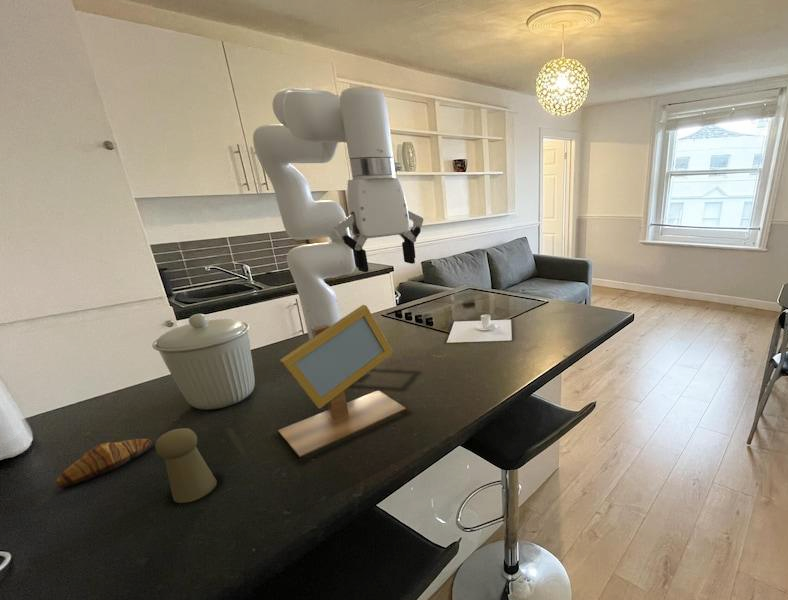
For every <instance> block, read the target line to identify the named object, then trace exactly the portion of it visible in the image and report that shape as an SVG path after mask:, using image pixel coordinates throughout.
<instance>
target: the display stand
mask: <svg viewBox="0 0 788 600" xmlns="http://www.w3.org/2000/svg"><path fill="white" fill-rule="evenodd" d="M329 327H330V326H329V325H327V324H325V325H321V326H317V327H314V328H311V331H312V335H313V338H314V337H315V336H317V335H318V334H320V333H321V332H323V331H324V330H326V329H327V328H329ZM327 406H328V410H325V411H323V412H320V413H318V414H315V415H312V416H309V417H308V418H305V419H302V420H300V421H297V422H294V423H292V424H290V425H287V426H285V427H282V428H280V429H278V430H277V432H278V434H279V435H280V436H281V437H282V438H283V439H284V441H285V442H286V443H287V445H289V446H290V448H291V449H292V450H293V451H294V452H295V454H296V455H297V456H298V458H302V457H305V456H307V455H308V454H311V453H313V452H315V451H318V450H319V449H323V448H324V447H327V446H329V445H331V444H333V443H335V442H338V441H340V440H342V439H344V438H347V437H349V436H351V435H353V434H356V433H357V432H360V431H361V430H364V429H366V428H368V427H371V426H373V425H375V424H377V423H379V422H382V421H384V420H387V419H389V418H391V417H393V416H395V415H398V414H399V413H402V412H404V411H406V410H407V407H405V406H404V405H402V404H400V403H399V402H397V401H396V400H395V399H393V398H391V397H390V396H388V395H387V394H385V393H384V392H382V391H380V390H376V391H373V392H370V393H368V394H365V395H363V396H360V397H358V398H354V399H352V400H350V401H348V402H347V399H346V394H345V390H344V391H342V392H341V393H340V394H339V395H337V396H336V397H335V398H333V399H332V400H331V401H329V402H328V403H327Z"/></svg>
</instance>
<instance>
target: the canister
mask: <svg viewBox="0 0 788 600" xmlns="http://www.w3.org/2000/svg"><path fill="white" fill-rule="evenodd" d="M250 328H251V326H250V324H249V323H247V322H244V321H240V320H237V319H232V318H219V319H218V318H216V319H211V320H210V319H209V317H208V316H207V315H205V314H203V313H195V314H192V315H191V316H190V317H189V318H188V324H185V325H181V326H177V327H175V328H172V329H170V330H167V331H166V332H165V333H163V334H161V335H160V336H159V337H158V338H157V339H156V340H154V341H153V342H152V344H151V347H152V348H153V349H154V350H155V351H158V352H159V354H160V356H161V358H162V360H163V362H164V364H165V365H166V367H167V369H168V371H169V373H170V375H171V377H172V379H173V380H174V382H175V384H176V386H177V387H178V389H179V390H180V392H181V394H182V396H183V397H184V399H185V401H186V402H187V403H188V404H189V405H190V406H191V407H193V408H195V409H197V410H202V411H204V410H206V411H209V410H218V409H222V408H226V407H229V406H232V405H235V404H238V403H239V402H242V401H243V400H245V399H246V398H248V397H249V396H250V395H251V394H252V392H253V391H254V389H255V385H256V383H255V380H256V379H255V371H254V363H253V362H254V361H253V355H252V349H251V344H250V338H249V331H250Z"/></svg>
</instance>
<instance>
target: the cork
mask: <svg viewBox="0 0 788 600" xmlns="http://www.w3.org/2000/svg"><path fill="white" fill-rule="evenodd" d="M197 444H198V436H197V434H196V433H195V432H194V430H193V429H190V428H186V427H185V428H184V427H183V428H176V429H171V430H169V431H166V432H165V433H163V434H162V435H160V436H159V437H158V438H157V439H156V442H155V444H154V446H155V447H154V448H155V451H156V453H157V454H158V455H159V457H161V458H164V463H165V467H166V472H167V477H168V482H169V486H170V491H171V495H172V500H173V501H174V502H176V503H178V504H185V503H191V502H194V501H198V500H199V499H201V498H203V497H205V496H206V495H208V494H209V493H211V492H212V491H213V490H214V489H215V488H216V486H217V484H218V483H217V482H218V481H217V479H216V477H215V475H214V474H213V472H212V471H211V469H210V467H209V466H208V464H207V463H206V461H205V459H204V458H203V456H202V454H201V452H200V451H199V450H198V448H197Z"/></svg>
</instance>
